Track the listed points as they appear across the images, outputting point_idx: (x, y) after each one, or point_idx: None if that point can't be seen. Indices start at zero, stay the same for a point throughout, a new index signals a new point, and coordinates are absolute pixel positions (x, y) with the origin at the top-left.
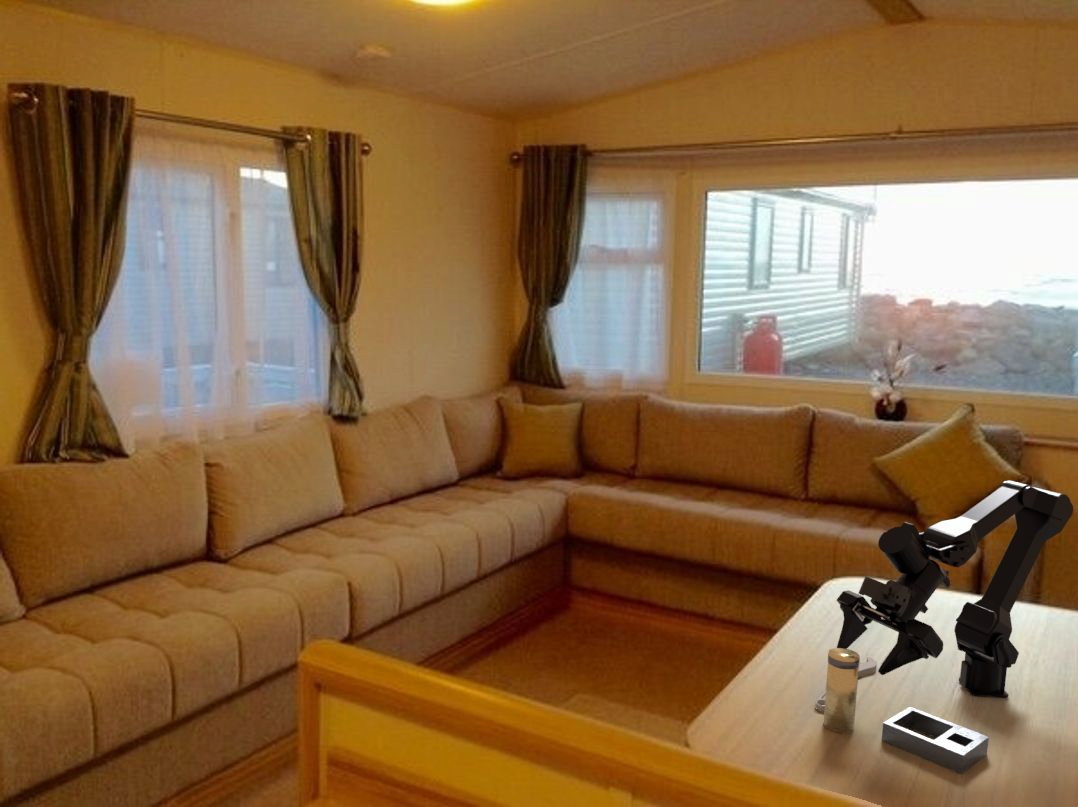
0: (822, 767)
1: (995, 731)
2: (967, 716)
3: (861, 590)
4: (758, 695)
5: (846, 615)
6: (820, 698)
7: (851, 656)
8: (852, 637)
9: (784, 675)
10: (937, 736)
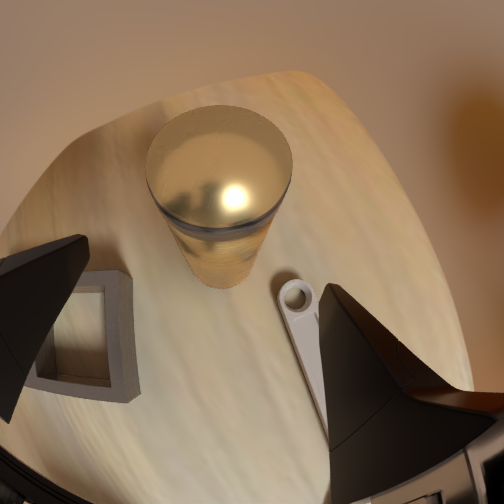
0: (160, 125)
1: (59, 466)
2: (110, 491)
3: None
4: (389, 232)
5: (463, 395)
6: (315, 309)
7: (179, 161)
8: (338, 390)
9: (422, 345)
10: (77, 376)
